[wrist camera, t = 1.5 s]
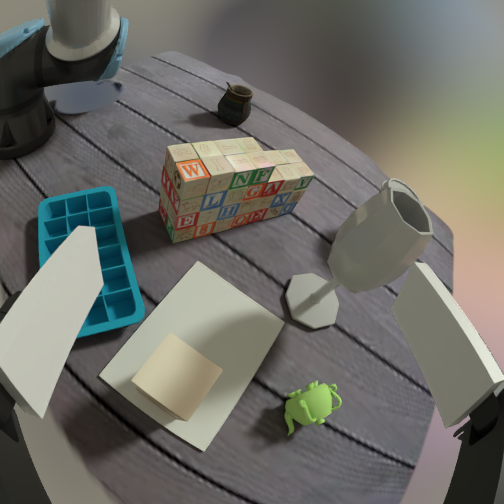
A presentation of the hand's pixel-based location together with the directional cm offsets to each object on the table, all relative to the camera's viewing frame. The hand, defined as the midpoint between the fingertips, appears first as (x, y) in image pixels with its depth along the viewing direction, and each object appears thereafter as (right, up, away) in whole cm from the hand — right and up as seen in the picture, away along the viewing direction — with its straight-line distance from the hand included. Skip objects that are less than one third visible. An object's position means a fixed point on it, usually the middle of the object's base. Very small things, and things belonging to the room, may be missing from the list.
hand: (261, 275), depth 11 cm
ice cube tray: (-22, -1, +22) cm, 31 cm away
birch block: (-9, -14, +17) cm, 24 cm away
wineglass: (+8, -6, +30) cm, 32 cm away
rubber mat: (-7, -11, +21) cm, 24 cm away
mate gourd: (-5, +30, +49) cm, 58 cm away
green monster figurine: (+5, -18, +21) cm, 28 cm away
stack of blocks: (-4, +7, +34) cm, 35 cm away
